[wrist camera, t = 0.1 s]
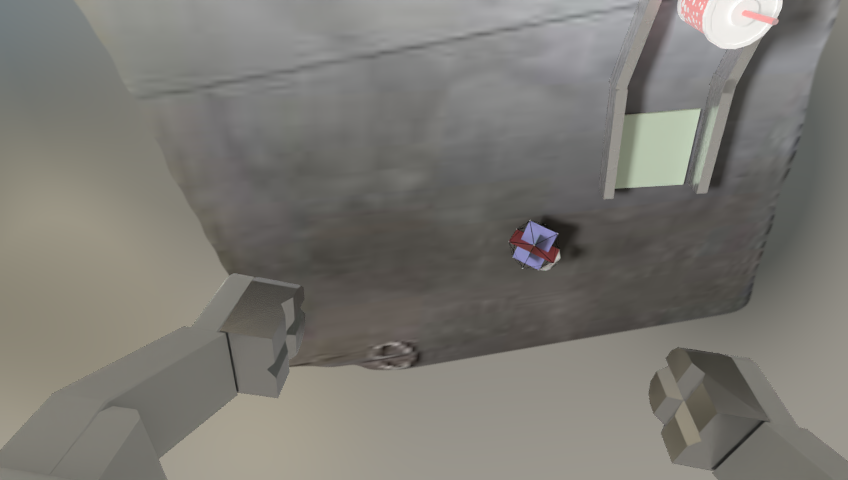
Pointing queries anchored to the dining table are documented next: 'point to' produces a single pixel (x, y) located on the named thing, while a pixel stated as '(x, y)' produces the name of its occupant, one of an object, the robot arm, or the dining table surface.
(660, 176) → the pad
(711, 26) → the beverage cup
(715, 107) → the rail corridor
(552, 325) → the dining table surface
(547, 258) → the geometric puzzle
